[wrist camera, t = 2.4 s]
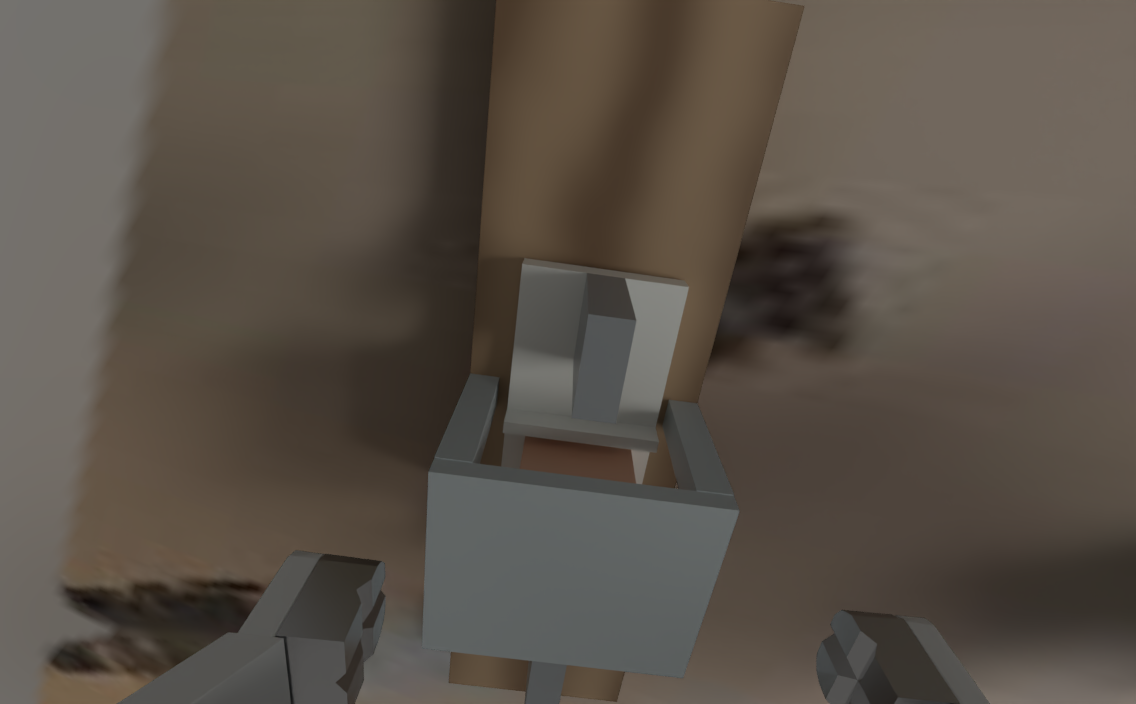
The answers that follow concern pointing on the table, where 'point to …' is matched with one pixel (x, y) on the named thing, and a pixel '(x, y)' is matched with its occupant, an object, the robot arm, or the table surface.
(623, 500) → the tunnel
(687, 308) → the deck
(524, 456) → the block
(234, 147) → the table surface
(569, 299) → the sled
